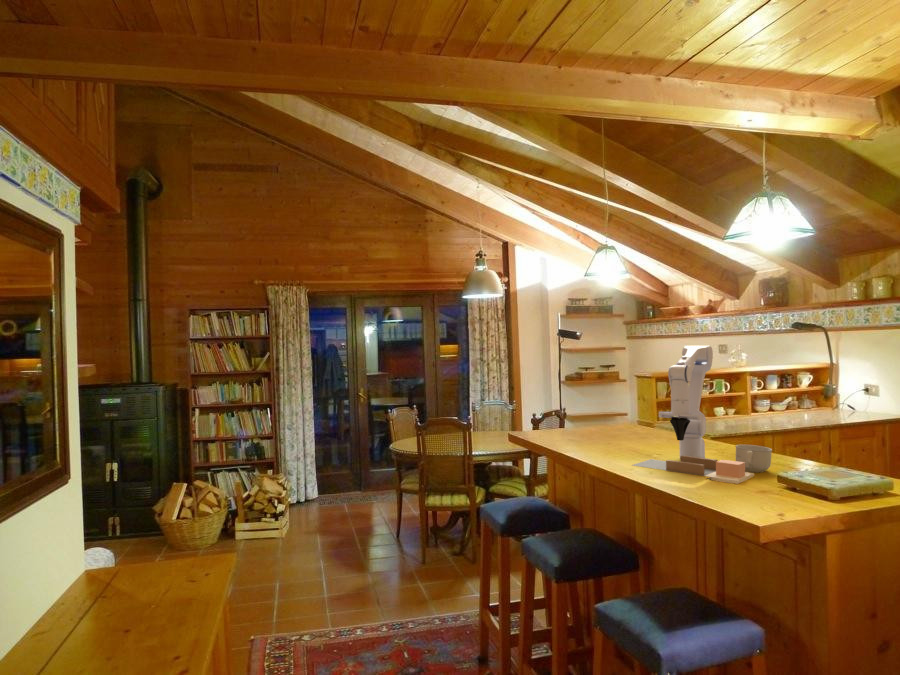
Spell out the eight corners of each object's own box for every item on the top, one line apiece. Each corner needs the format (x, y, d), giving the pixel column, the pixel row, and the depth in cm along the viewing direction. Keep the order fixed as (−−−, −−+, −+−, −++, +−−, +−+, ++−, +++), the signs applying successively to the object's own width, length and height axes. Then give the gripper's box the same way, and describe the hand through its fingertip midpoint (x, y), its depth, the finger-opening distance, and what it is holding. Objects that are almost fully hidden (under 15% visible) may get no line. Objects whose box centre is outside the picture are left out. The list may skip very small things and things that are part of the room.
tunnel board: (650, 462, 221) (650, 450, 221) (754, 476, 196) (753, 463, 196) (631, 468, 211) (631, 456, 211) (737, 484, 186) (737, 470, 186)
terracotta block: (722, 471, 198) (722, 459, 198) (745, 475, 193) (744, 462, 193) (716, 474, 195) (715, 461, 195) (739, 477, 190) (738, 464, 190)
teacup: (743, 466, 212) (742, 442, 212) (777, 470, 204) (776, 446, 204) (726, 472, 202) (726, 448, 202) (762, 477, 194) (761, 452, 194)
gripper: (654, 399, 213) (654, 439, 213) (695, 402, 203) (696, 443, 202) (663, 398, 218) (664, 437, 218) (704, 400, 208) (705, 441, 207)
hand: (680, 440), depth 210 cm, fingers closed
